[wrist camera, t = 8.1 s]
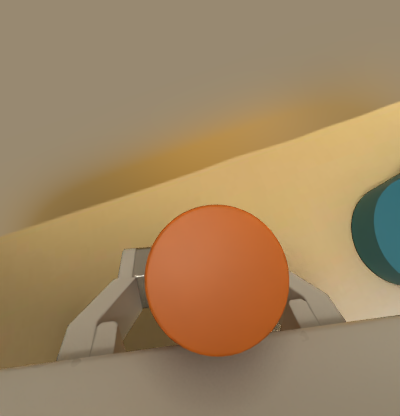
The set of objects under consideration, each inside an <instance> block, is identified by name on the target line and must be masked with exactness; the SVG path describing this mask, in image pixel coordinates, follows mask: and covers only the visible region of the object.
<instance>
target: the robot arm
mask: <svg viewBox="0 0 400 416" xmlns="http://www.w3.org/2000/svg"><path fill="white" fill-rule="evenodd" d="M150 250H151V247H146V248H134V249H124V250H123V252H122V257H121V263H120V268H119V274H118V279H114V280H113V281H112V282H111V283H110V284H109V285H108V286H107V287H106V288H105V289H104V290H103V291H102V292H101V293H100V294H99V295H98V296H97V297H96V298H95V299H94V300H93V301H92V302H91V303H90V304H89V305H88V306H87V307H86V308H85V309H84V310H83V311H82V312H81V313H80V314H79V315H78V316H77V317H76V318H75V319H74V320H73V321H72V322H71V323H70V324H69V325H68V327H67V330H66V333H65V336H64V339H63V342H62V345H61V348H60V351H59V354H58V357H57V360H56V361H55V362H47V363H40V364H32V365H25V366H18V367H10V368H3V369H0V416H400V315H396V316H388V317H381V318H374V319H366V320H359V321H351V322H346V321H345V319H344V318H343V316H342V315H341V313H340V312H339V311H338V309H337V308H336V306H335V305H334V303H333V302H332V300H331V299H330V297H329V296H328V295H327V294H326V293H324V292H322V291H321V290H319V289H318V288H316V287H314V286H313V285H311V284H310V283H308V282H306V281H305V280H303V279H302V278H300V277H298V276H297V275H295V274H294V273H292V272H290V271H289V270H288V271H289V293H288V298H287V303H286V306H285V309H284V311H283V314H282V316H281V318H280V320H279V322H278V323H279V324H280V325H281V329H280V331H277V332H270V333H269V335H268V336H267V337H266V338H265V339H263V340H262V341H261V342H260V343H258V344H257V345H255V346H254V347H252V348H250V349H248V350H246V351H244V352H242V353H238V354H235V355H231V356H223V357H211V356H205V355H200V354H197V353H194V352H191V351H189V350H187V349H185V348H183V347H181V346H180V345H173V346H166V347H159V348H151V349H144V350H136V351H129V352H126V351H125V347H124V344H123V340H124V338H125V336H126V335H127V333H128V332H129V330H130V329H131V327H132V325H133V324H134V322H135V321H136V319H137V318H138V316H139V314H140V313H141V311H142V310H143V309H142V308H149V305H148V301H147V298H146V292H145V278H144V276H145V267H146V263H147V258H148V255H149V252H150Z"/></svg>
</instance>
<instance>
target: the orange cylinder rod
mask: <svg viewBox="0 0 400 416" xmlns="http://www.w3.org/2000/svg"><path fill="white" fill-rule="evenodd" d="M144 278H145V292H146V298H147V301H148V305H149V308H150V310H151V312H152V315H153V317H154V319H155V320H156V322H157V323H158V325H159V326H160V328H161V329H162V330H163V331H164V333H165V334H166V335H167V336H168V337H169V338H171V339H172V340H173V341H174V342H175V343H177V344H178V345H180V346H181V347H183V348H185V349H187V350H189V351H191V352H194V353H197V354H200V355H205V356H211V357H223V356H231V355H235V354H238V353H242V352H244V351H246V350H248V349H250V348H252V347H254V346H255V345H257V344H258V343H260V342H261V341H262V340H263V339H265V338H266V337H267V336H268V335H269V333H270V332H271V331H272V330H273V329H274V327H275V326H276V325H277V323H278V322H279V320H280V318H281V316H282V314H283V311H284V309H285V306H286V303H287V298H288V293H289V271H288V265H287V261H286V257H285V254H284V252H283V249H282V247H281V245H280V243H279V242H278V240H277V238H276V237H275V236H274V234H273V233H272V231H271V230H270V229H269V228H268V227H267V226H266V225H265V224H264V223H263V222H261V221H260V220H259V219H258V218H256V217H255V216H253V215H252V214H250V213H248V212H246V211H244V210H241V209H238V208H236V207H231V206H227V205H206V206H201V207H197V208H194V209H191V210H189V211H186V212H184V213H182V214H181V215H179V216H178V217H176V218H175V219H173V220H172V221H171V222H170V223H169V224H168V225H167V226H166V227H165V228H164V229H163V230H162V231H161V232H160V234H159V235H158V237H157V238H156V240H155V242H154V243H153V245H152V247H151V250H150V252H149V255H148V258H147V263H146V267H145V276H144Z"/></svg>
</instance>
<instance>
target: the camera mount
mask: <svg viewBox="0 0 400 416" xmlns="http://www.w3.org/2000/svg"><path fill="white" fill-rule="evenodd" d="M352 236H353V241H354V244H355V247H356V250H357V252H358V254H359V256H360V257H361V259H362V260H363V262H364V263H365V264H366V265H367V267H368V268H369V269H370V270H371V271H373V272H374V273H375V274H376V275H378V276H379V277H381V278H382V279H384V280H386V281H388V282H391V283H394V284H397V285H400V174H398V175H396V176H395V177H393V178H391V179H390V180H388V181H386V182H385V183H383V184H381V185H379V186H378V187H376V188H374V189H373V190H371V191H369V192H368V193H367V194H365V195H364V196H363V197H362V198H361V199H360V201H359V202H358V204H357V206H356V208H355V210H354V213H353V217H352Z"/></svg>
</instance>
